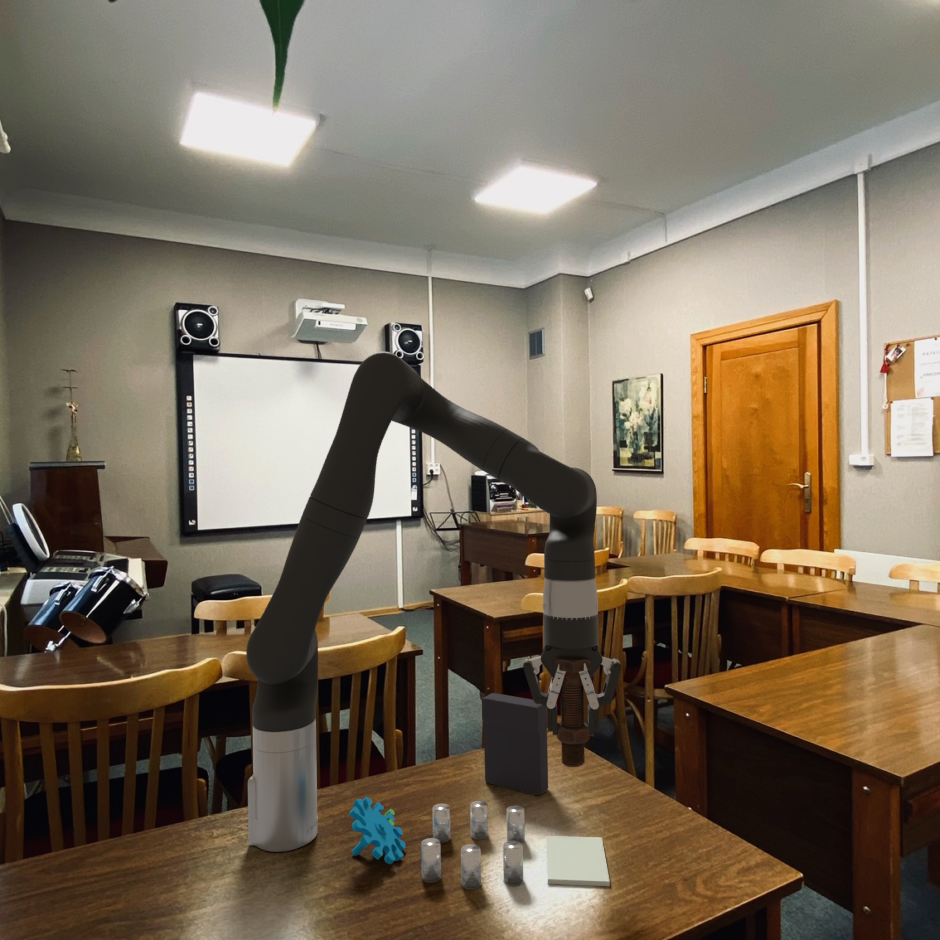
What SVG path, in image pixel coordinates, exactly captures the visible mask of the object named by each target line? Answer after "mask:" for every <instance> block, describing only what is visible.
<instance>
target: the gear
mask: <svg viewBox="0 0 940 940" xmlns="http://www.w3.org/2000/svg"><path fill="white" fill-rule="evenodd" d="M372 804H373V800H372V798H369V797H367V796H365V797H364V798H363V799H361V798H358V799H356V800H355V801H353V802H352V805H353V808H352V809H351V810H350V811H349V814H348V815H349V816H350V817H351V818H352V819H354V821H353V822H352V823H351V829H352V830H353V832H355V833H360V834H363V835H362V836H361V837H360V839H359V843H357V844H356V845H355V847H354V848H353V849H352V850H351V853H352V854H353V856H355V857H357V856H358V855H359V854H361V852H362V851H364V849H365V848H367V847H368V846H369V845H373V846H375V847H374V849H372V851H371V854H372V856H373V858H375V859H376V860H379V859H380V858H382V856H383V855H384V853H385V856H384V858H383V859H384V860H383V861H384V862H385V863H386V864H389V865H392V864H393V863H394V862H398V861H401V860H402V858H403V857H404V853H403V850H405V849H406V847H407V846H406V845H407V844H406V843H405V841H404V840H402V839H400V838H401V837H402V836H403V830H402V828H401V827H399V826H395V821H396V819H395V817H394V816H395V810H393V808H390V809H388V810H387V812H385V813H384V814H382V811H383V810H384V809H385V807H384V806H383V804H381V802H380V801H377V802H376V803H375V804H374V805H373V807H371V806H372Z"/></svg>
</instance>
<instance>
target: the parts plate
mask: <svg viewBox="0 0 940 940" xmlns="http://www.w3.org/2000/svg"><path fill="white" fill-rule="evenodd" d="M546 858H547V859H546V861H547V862H546V865H547V866H546V867H547V868H546V869H547V871H546V872H547V884H548V885H549V884H550V885H570V886H571V885H572V886H573V885H574V886H595V887H596V886H599V887H611V885H610V883H611V882H610V876H609V869H608V866H607V860H606V854H605V849H604V842H603V837H596V836H594V837H593V836H592V837H591V836H570V835H568V836H567V835H566V836H565V835H564V836H563V835H559V836H558V835H546Z"/></svg>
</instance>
